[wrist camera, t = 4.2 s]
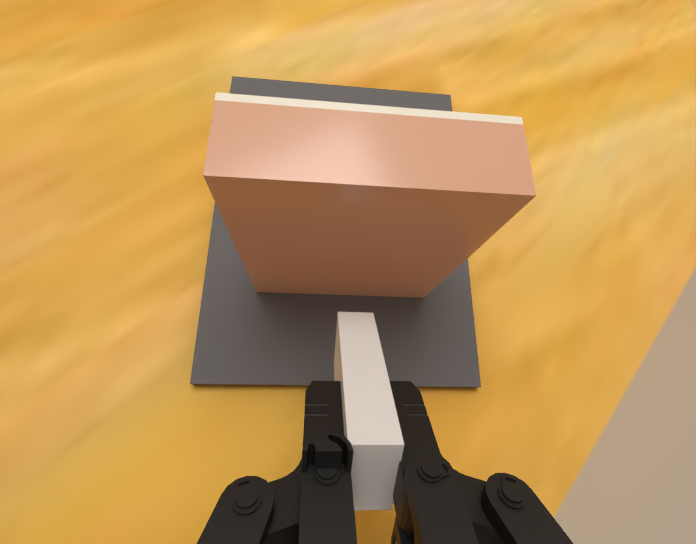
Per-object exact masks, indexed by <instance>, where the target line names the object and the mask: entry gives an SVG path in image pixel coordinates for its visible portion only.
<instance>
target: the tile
mask: <svg viewBox="0 0 696 544" xmlns="http://www.w3.org/2000/svg"><path fill="white" fill-rule="evenodd" d="M203 176H204V178H205V180H206V182H207V185H208V187H209V189H210V191H211V193H212V196H213V198H214V200H215V202H216V205H217V207H218V209H219V211H220V213H221V216H222V218H223V220H224V222H225V224H226V227H227V229H228V231H229V233H230V235H231V238H232V240H233V242H234V244H235V246H236V249H237V251H238V253H239V255H240V258H241V260H242V262H243V264H244V266H245V269H246V271H247V273H248V275H249V277H250V280H251V282H252V284H253V286H254V288H255V291H256V292H268V293H298V294H328V295H357V296H387V297H416V298H424V297H425V296H426V295H428V294H429V293H430V292H431V291H432V290H433V289H434V288H435V287H436V286H437V285H439V284H440V283H441V282H442V281H443V280H444V279H445V278H446V277H447V276H448V275H450V274H451V273H452V272H453V271H454V270H455V269H456V268H457V267H458V266H459V265H460V264H462V263H463V262H464V261H465V260H466V259H467V258H468V257H469V256H470V255H471V254H473V253H474V252H475V251H476V250H477V249H478V248H479V247H480V246H481V245H482V244H484V243H485V242H486V241H487V240H488V239H489V238H490V237H491V236H492V235H493V234H494V233H496V232H497V231H498V230H499V229H500V228H501V227H502V226H503V225H504V224H505V223H507V222H508V221H509V220H510V219H511V218H512V217H513V216H514V215H515V214H516V213H518V212H519V211H520V210H521V209H522V208H523V207H524V206H525V205H526V204H527V203H529V202H530V201H531V200H532V199H533V198H534V197H535V196H536V193H535V188H534V182H533V176H532V171H531V165H530V160H529V154H528V148H527V143H526V137H525V131H524V126H523V120H522V117H513V116H501V115H488V114H476V113H464V112H451V111H439V110H427V109H414V108H402V107H390V106H377V105H365V104H353V103H340V102H328V101H316V100H303V99H291V98H279V97H267V96H254V95H242V94H230V93H217V92H216V96H215V102H214V109H213V115H212V122H211V128H210V135H209V141H208V148H207V154H206V161H205V168H204V174H203Z"/></svg>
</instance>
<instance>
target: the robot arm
mask: <svg viewBox="0 0 696 544" xmlns="http://www.w3.org/2000/svg"><path fill="white" fill-rule="evenodd" d="M334 379H335V381H312V382H311V383H310V385H309V387H308V388H307V390H306V397H305V417H304V438H303V451H302V459H301V461H300V463H299V465H298V466H297V468H296V469H295V470H294V471H293V472H291V473H290V474H289V475H287V476H285V477H283V478H281V479H278V480H275V481H272V482H269V483H268V482H267V481H266V480H264V479H262V478H260V477H257V476H246V477H242V478H239V479H237V480H235V481H234V482H232V483H231V484H230V485H228V486H227V488H226V489H225V490H224V492H223V493H222V494H221V496H220V498H219V500H218V502H217V504H216V506H215V508H214V510H213V512H212V514H211V516H210V518H209V520H208V522H207V524H206V526H205V528H204V530H203V532H202V534H201V536H200V538H199V540H198V542H197V544H357V538H356V526H355V514H354V510H391V509H392V504H393V499H394V504H395V510H396V519H395V523H394V528H393V533H392V537H391V544H396V542H397V544H573V543H572V541H571V540H570V539H569V537H568V536H567V535H566V533H565V532H564V531H563V530H562V528H561V527H560V526H559V524H558V523H557V522H556V520H555V519H554V518H553V517H552V515H551V514H550V513H549V511H548V510H547V509H546V507H545V506H544V505H543V504H542V502H541V501H540V500H539V498H538V497H537V496H536V494H535V493H534V492H533V491H532V489H531V488H530V487H529V486H528V485H527V484H526V483H525V482H524V481H522V480H520V479H519V478H517V477H515V476H513V475H510V474H506V473H495V474H493V475H492V476H490V477H489V478H488V480H487V482H486V481H483V480H479V479H476V478H472V477H469V476H466V475H464V474H461V473H459V472H457V471H456V470H454V469H453V468H452V467H451V465H450V463H449V462H448V461H446V460H445V459H444V458H443V457H442V455H441V453H440V451H439V448H438V445H437V442H436V439H435V436H434V433H433V430H432V426H431V423H430V420H429V417H428V416H427V411H426V408H425V406H424V402H423V399H422V396H421V393H420V391H419V390H418V389H417V387H416V386H415V385H414V384H413V383H412V382H411V381H389V377H388V373H387V369H386V365H385V360H384V356H383V352H382V347H381V343H380V339H379V335H378V330H377V326H376V322H375V318H374V313H366V312H338V315H337V328H336V341H335V354H334Z"/></svg>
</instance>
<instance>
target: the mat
mask: <svg viewBox="0 0 696 544" xmlns="http://www.w3.org/2000/svg"><path fill="white" fill-rule="evenodd" d="M230 94H242V95H254V96H267V97H279V98H291V99H303V100H316V101H328V102H340V103H353V104H365V105H377V106H390V107H402V108H414V109H427V110H439V111H451V112H452V105H451V95H444V94H432V93H421V92H409V91H397V90H386V89H374V88H362V87H350V86H339V85H327V84H315V83H304V82H292V81H280V80H268V79H257V78H245V77H233V76H232V82H231V90H230ZM338 312H366V313H374V318H375V322H376V326H377V330H378V335H379V339H380V343H381V347H382V352H383V356H384V360H385V365H386V369H387V373H388V377H389V381H411V382H412V383H413V384H414V385H415V386H416V387H481V384H480V374H479V364H478V355H477V345H476V336H475V326H474V316H473V307H472V297H471V288H470V278H469V268H468V259H466V260H465V261H464V262H463V263H462V264H460V265H459V266H458V267H457V268H456V269H455V270H454V271H453V272H452V273H451V274H450V275H448V276H447V277H446V278H445V279H444V280H443V281H442V282H441V283H440V284H439V285H437V286H436V287H435V288H434V289H433V290H432V291H431V292H430V293H429V294H428V295H426V296H425V297H424V298H416V297H387V296H357V295H328V294H298V293H268V292H256V291H255V288H254V286H253V284H252V282H251V280H250V277H249V275H248V273H247V271H246V269H245V266H244V264H243V262H242V260H241V258H240V255H239V253H238V251H237V249H236V246H235V244H234V242H233V240H232V238H231V235H230V233H229V231H228V229H227V227H226V224H225V222H224V220H223V218H222V216H221V213H220V211H219V209H218V207H217V205H216V202H215V206H214V213H213V221H212V228H211V235H210V243H209V250H208V257H207V264H206V272H205V279H204V286H203V294H202V301H201V308H200V315H199V323H198V330H197V337H196V345H195V352H194V359H193V366H192V374H191V381H190V384H211V385H299V386H309V385H310V383H311V382H312V381H335V379H334V354H335V341H336V328H337V315H338Z"/></svg>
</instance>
